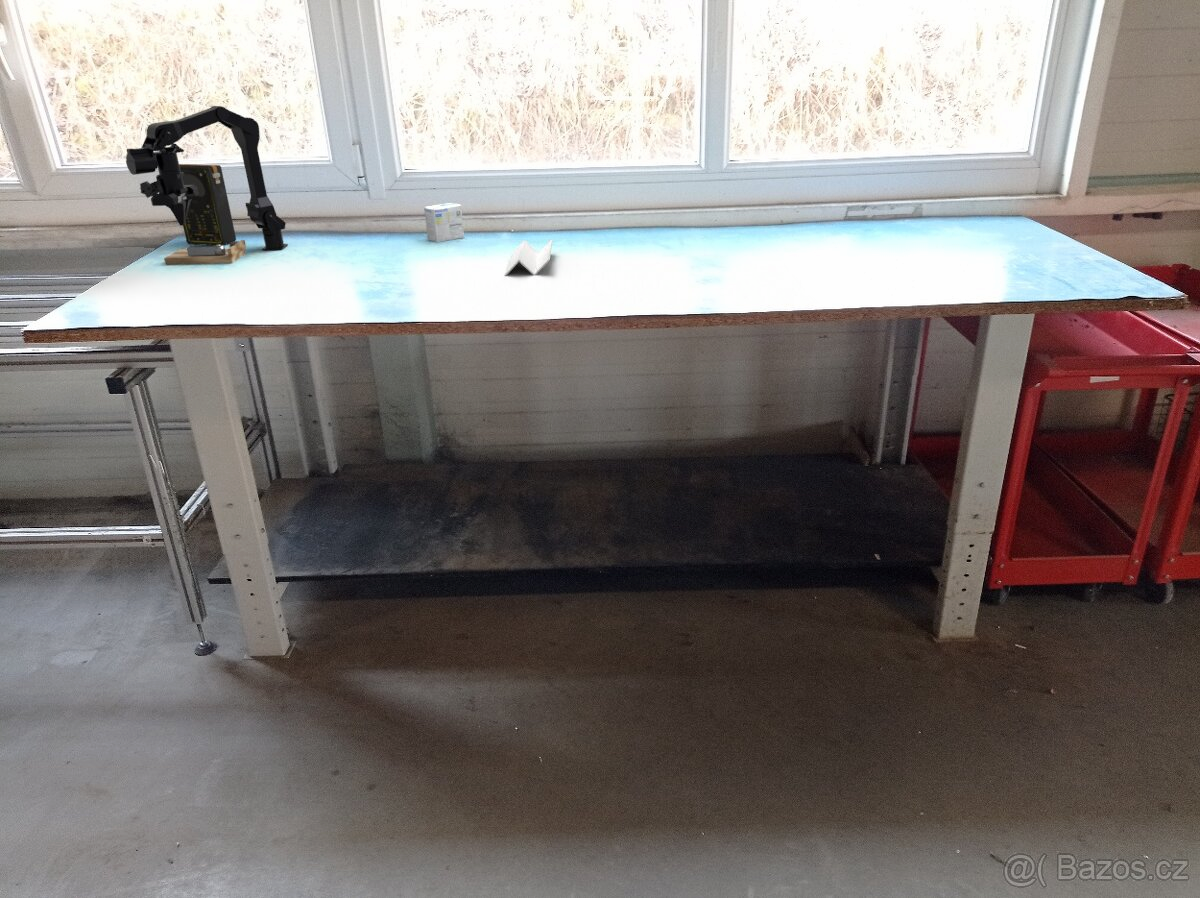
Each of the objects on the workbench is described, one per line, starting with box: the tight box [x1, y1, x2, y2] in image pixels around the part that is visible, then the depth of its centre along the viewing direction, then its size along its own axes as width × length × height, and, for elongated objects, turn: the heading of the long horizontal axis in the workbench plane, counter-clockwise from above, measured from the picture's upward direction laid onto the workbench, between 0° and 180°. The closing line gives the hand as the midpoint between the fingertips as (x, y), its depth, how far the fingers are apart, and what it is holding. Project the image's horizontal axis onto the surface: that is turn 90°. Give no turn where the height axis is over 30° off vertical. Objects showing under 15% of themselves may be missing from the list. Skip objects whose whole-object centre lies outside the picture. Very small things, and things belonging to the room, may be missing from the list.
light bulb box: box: [423, 202, 465, 243], centre depth 280 cm, size 11×7×11 cm, turn 130°
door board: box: [163, 239, 247, 266], centre depth 262 cm, size 12×20×4 cm, turn 91°
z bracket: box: [503, 238, 553, 277], centre depth 249 cm, size 12×25×6 cm
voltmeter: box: [179, 163, 237, 246], centre depth 278 cm, size 16×9×25 cm, turn 73°
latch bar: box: [185, 244, 226, 256], centre depth 258 cm, size 11×3×3 cm, turn 91°
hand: (182, 225), depth 251 cm, fingers closed
